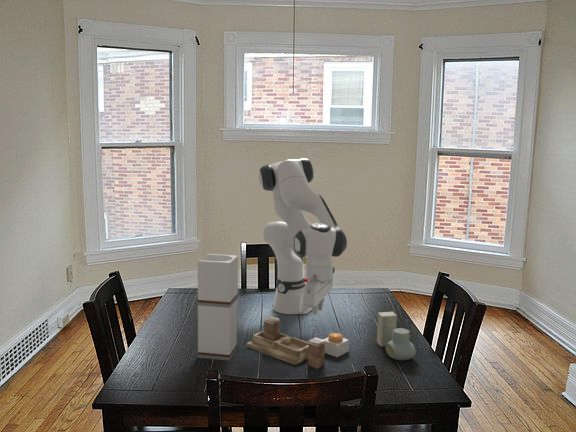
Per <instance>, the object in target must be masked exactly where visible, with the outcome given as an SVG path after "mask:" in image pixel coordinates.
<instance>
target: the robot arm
mask: <svg viewBox="0 0 576 432" xmlns="http://www.w3.org/2000/svg"><path fill="white" fill-rule="evenodd" d="M314 175H315V169H314V165H313V164H312V161H311V160H310V159H308V158H306V157H299V158H293V159H289V158H288V159H285V160H282V161H277V162H274V163H269V164H265V165H262V166H261V167H260V169H259V171H258V181H259V184H260V185H261V187H262V189H263V190H265V191H267V192H272V199H273V206H274V211H275V214H276V216H277V217H278V218H280V219H282V220H283V221H279V220H278V221H277V220H276V221H269V222H267V223H266V225H265V226H264V229H263V234H262V235H263V239H264V241H265V243H267V244H268V245H269V246H270V247H271V249H272V251H273V253H274V255H275V257H276V261H277V263H276V264H277V277H276V287H275V292H274V294H275V295H274V300H273V303H272V306H273V307H272V309H273V311H274V312H276V313H279V314H284V315H307V314H309V313H310V312H312V313H311V314H312V315H314V316H317V315H319V311H320V312H321V311H322V310H323V308H324V302H325V300H326V299H325V297H327V296H328V294H330V293H331V292H332V288H333V281H334V274H335V271H336V268H335V266H334V265H333V260H332V257H335V258H337V257H340V256H341V255H342V254H343V253H344V252H345V251H346V249H347V246H348V240H347V236H346V234H345V232H344V230H343V229H341V227H340V226H339V224H338V222H337V221H336V219H335V218H334V215H333V214H332V211H331V210H330V208H329V207H328V205H327V203H326V201H325V199H324V198H323V196H322V195H321V194H319V193H317V192H316V191H315V190H314V189H313V188H312V187H311V185H310V184H309V183H311V182H312V181H313V180H314ZM304 212H306V213H309V214H311V215H313V216H315V217H316V218H317V220H318V221H319V222H313V223H311V222H310V221H309V220H308V219H307V216H306V215H305V213H304ZM299 256H300V257H299ZM302 258H306V262H305V277H304V261H303V259H302Z"/></svg>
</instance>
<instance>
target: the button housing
mask: <svg viewBox="0 0 576 432" xmlns="http://www.w3.org/2000/svg"><path fill="white" fill-rule="evenodd" d="M328 338H329V336H328V337H326V338H323V339H322V340H325V354H328V355H330V356H333V357H336V358H338V357H340V356H342V355H344V354H347V353H348V352H349V345H350V339H347V338H345V337H343V341H340V342H338V343H335V342H332V341H329V340H328Z"/></svg>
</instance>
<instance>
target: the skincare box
mask: <svg viewBox="0 0 576 432" xmlns="http://www.w3.org/2000/svg"><path fill="white" fill-rule="evenodd" d="M397 319H398V316H397V314H396V313H395V312H394V311H382V312H381V311H379V312H377V329H376V330H377V331H376V332H377V333H376V343H377V344H378V346H379V347H386V344H387V343H388V342H389V341H391V340H393V330H394V329H397Z"/></svg>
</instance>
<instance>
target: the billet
mask: <svg viewBox="0 0 576 432" xmlns="http://www.w3.org/2000/svg"><path fill="white" fill-rule="evenodd" d="M308 342H309V346H308V359H307V366H308V367H311V368H314V369H319V368H321V367H323V366H325V354H326V353H325V340H323V339H321V338H319V337H313V338H310V339H309V340H308Z"/></svg>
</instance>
